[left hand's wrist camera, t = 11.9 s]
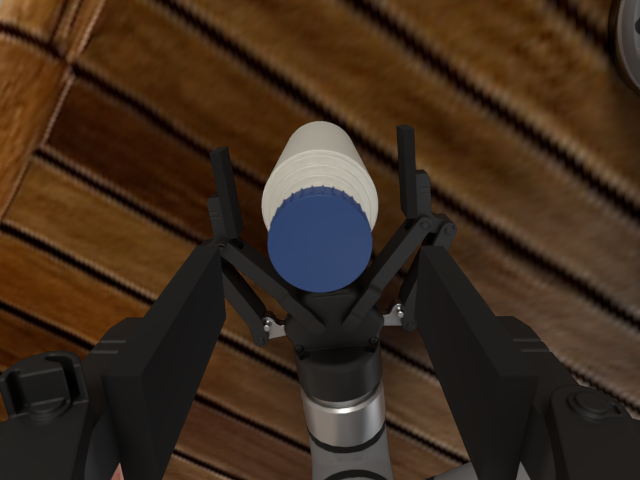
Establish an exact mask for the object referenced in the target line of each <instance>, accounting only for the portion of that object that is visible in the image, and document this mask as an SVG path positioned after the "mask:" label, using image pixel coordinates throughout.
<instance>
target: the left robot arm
mask: <svg viewBox="0 0 640 480" xmlns="http://www.w3.org/2000/svg"><path fill="white" fill-rule="evenodd" d="M609 39H610V47H611V53H612V56H613V60H614V63H615V65H616V68H617V70H618V72H619V74H620V76H621V77H622V78H623V80H624V81H625V83H626V84H627V85H628V86H629V87H630V88H631V89H632V90H633V91H634V92H635V93H636V94H638V95H639V96H640V0H613V4H612V8H611V14H610V22H609ZM225 319H226V311H225V300H224V289H223V278H222V267H221V256H220V246H196V247H195V249H194V250H193V252H192V253H191V254H190V256H189V257H188V258H187V260H186V261H185V262H184V264H183V265H182V266H181V268H180V269H179V270H178V272H177V273H176V274H175V276H174V277H173V278H172V280H171V281H170V282H169V284H168V285H167V286H166V288H165V289H164V290H163V292H162V293H161V294H160V296H159V297H158V299H157V300H156V301H155V303H154V304H153V305H152V307H151V308H150V309H149V311H148V312H147V313H146V315H145V316H144V317H143V318H126V319H124V320H122V321H121V322H119V323H118V324H116V325H115V326H113V327H111V328H110V329H109V330H108V331H107V333H106V334H105V335H104V336H103V337H102V339H101V340H100V343H97V344H96V346H95V347H94V348H93V349H92V350H91V354H88V355H87V356H86V357H85V359H84V360H83V361H82V362H81V360H80V357H79V356H78V355H76V354H75V353H74V352H68V351H63V350H62V351H50V352H45V353H41V354H37V355H34V356H31V357H29V358H26V359H24V360H22V361H20V362H17V363H16V364H14V365H13V366H11V367H10V368H8V369H7V370H5V371H4V372H3V374H2V375H1V376H0V392H1V395H2V398H3V401H4V404H5V407H6V410H7V413H8V416H9V418H8V420H7V421H4V422H0V480H111V479H112V477H113V475H114V473H115V471H116V469H117V467H118V465H119V463H120V465H121V470H122V474H123V479H124V480H162V478H163V475H164V473H165V470H166V468H167V465H168V463H169V460H170V458H171V455H172V453H173V450H174V448H175V445H176V443H177V440H178V437H179V435H180V432H181V430H182V427H183V425H184V422H185V420H186V417H187V415H188V412H189V410H190V407H191V405H192V402H193V400H194V397H195V395H196V392H197V390H198V387H199V384H200V382H201V379H202V377H203V374H204V372H205V369H206V367H207V364H208V362H209V359H210V357H211V354H212V352H213V349H214V347H215V344H216V342H217V339H218V337H219V334H220V331H221V329H222V326H223V324H224V321H225ZM414 319H415V321H416V324H417V326H418V329H419V331H420V334H421V337H422V339H423V342H424V344H425V347H426V349H427V352H428V354H429V357H430V359H431V362H432V364H433V367H434V369H435V372H436V374H437V377H438V379H439V382H440V384H441V387H442V390H443V392H444V395H445V397H446V400H447V402H448V405H449V407H450V410H451V412H452V415H453V417H454V420H455V422H456V425H457V427H458V430H459V432H460V435H461V437H462V440H463V443H464V445H465V448H466V450H467V453H468V455H469V458H470V460H471V463H472V465H473V468H474V470H475V473H476V475H477V478H478V480H516V479H517V474H518V470H519V465H520V461H521V463H522V465H523V467H524V469H525V471H526V473H527V474H528V476H529V478H530V480H640V420H636V419H633V418H632V417H631V416H630V414H629V413H628V412H627V410H626V409H625V408H624V406H622V405H621V404H620V403H618V402H617V401H616V400H615V399H613V398H612V397H610V396H608V395H606V394H604V393H602V392H600V391H598V390H595V389H592V388H589V387H585V386H581V385H579V384H578V383H577V381H576V380H575V379H574V378H573V377H572V375H571V374H570V373H569V372H568V371H567V370H566V368H565V367H564V366H563V365H562V364H561V363H560V361H559V360H558V359H557V358H556V357H555V356H554V354H553V353H552V352H549V348H548V347H547V346H546V345H545V344H544V343H543V342H541V339H540V338H539V337H538V336H537V334H536V333H535V332H534V331H533V330H532V329H531V327H530V326H528V325H526V324H525V323H523V322H522V321H520V320H518V319H517V318H515V317H514V316H495V315H494V313H493V312H492V311H491V309H490V308H489V307H488V305H487V304H486V303H485V301H484V300H483V299H482V297H481V296H480V294H479V293H478V292H477V290H476V289H475V288H474V286H473V285H472V284H471V282H470V281H469V280H468V278H467V277H466V276H465V274H464V273H463V272H462V270H461V269H460V268H459V266H458V265H457V264H456V262H455V261H454V260H453V258H452V257H451V256H450V254H449V253H448V252H447V250H446V249H445V247H444V246H420V256H419V267H418V278H417V289H416V300H415V311H414Z"/></svg>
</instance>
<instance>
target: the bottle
mask: <svg viewBox="0 0 640 480" xmlns="http://www.w3.org/2000/svg"><path fill="white" fill-rule="evenodd" d="M312 185H313V187H315V186H322V185H324V186H325V187H331V188H332V187H335V189H338V190H341V191H343V190H344V191H345V193H346V194H348V195H349V196H353V198H354V200H355V201H356V202H357V203H360V205H361V208H362V210H363V212H365V213H366V216H367V218H368V221H369V224H370V227H371V230H373V227H374V225H375V222H376V219H377V214H378V197H377V192H376V189H375V186H374V184H373V181H372V179H371V177H370V175H369V173H368V172H367V170H366V168H365V166H364V164H363V162H362V160H361V158H360V156H359V154H358V152H357V150H356V149H355V147H354V145H353V143H352V141H351V139H350V137H349V136H348V135H347V133H346V132H345V131H344V130H343V129H341V128H340V127H338V126H337V125H335V124H332V123H329V122H323V121H316V122H311V123H308V124H306V125H303V126H302V127H300V128H299V129H298V130H296V131H295V132H294V133H293V135H292V136H291V137H290V139H289V141H288V143H287V145H286V147H285V149H284V151H283V152H282V154H281V156H280V158H279V160H278V162H277V164H276V166H275V168H274V170H273V172H272V174H271V175H270V177H269V179H268V181H267V183H266V186H265V189H264V192H263V197H262V214H263V219H264V222H265V225H266V228H267V229H268V232H269V229H270V223H271V220H272V218H273V216H274V215H275V212H276V209H277V207H280V206H281V204H282V203H283V200H284V199H285V200H286V199H287V198H288V197H289V196H291V193H295V192H297V191H300V190H301V188H303V189H305V188H308V187H311V186H312Z"/></svg>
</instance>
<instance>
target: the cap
mask: <svg viewBox="0 0 640 480" xmlns="http://www.w3.org/2000/svg"><path fill="white" fill-rule="evenodd" d="M371 231H372V230H371V227H370V224H369V221H368V218H367V216H366V213H365V212H363V210H362V208H361V205H360V203H357V202H356V201H355V200H354V198H353V196H349V195H348V194H346V193H345V191H344V190H343V191H341V190H338V189H335V187H332V188H331V187H325V186H324V185H322V186H315V187H313V185H312V186H311V187H308V188H305V189H303V188H301V190H300V191H297V192H295V193H291V196H289V197H288V198H287V199H286V200H285V199H284V200H283V203H282V204H281V206H280V207H277V209H276V212H275V215H274V216H273V218H272V220H271V223H270V229H269V232H268V244H267V245H268V252H269V256H270V259H271V262H272V264H273V266H274V268H275V269H276V271H277V272H278V273H279V275H280V276H281V277H282V278H283V279H285V280H286V281H287V282H288V283H290V284H291V285H293V286H295V287H297V288H299V289H302V290H305V291H310V292H318V293H319V292H330V291H335V290H338V289H341V288H343V287H345V286H347V285H349V284H350V283H352V282H353V281H354V280H355V279H357V278H358V277H359V276H360V274H361V273H362V272H363V271H364V269H365V268H366V266H367V264H368V262H369V259H370V256H371V252H372V241H373V239H372V235H371Z"/></svg>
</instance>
